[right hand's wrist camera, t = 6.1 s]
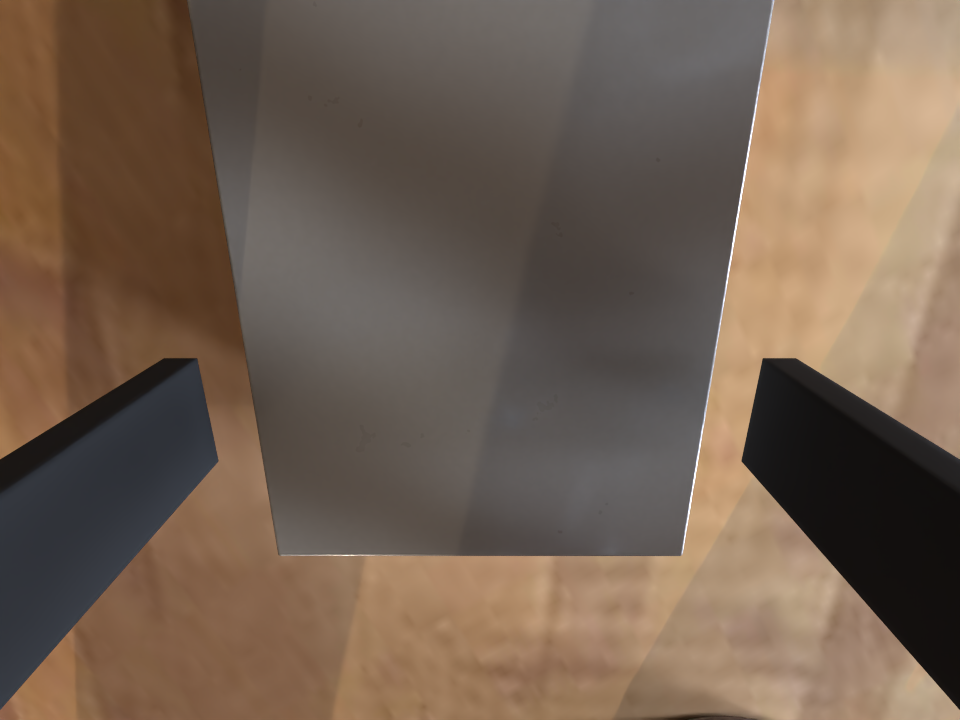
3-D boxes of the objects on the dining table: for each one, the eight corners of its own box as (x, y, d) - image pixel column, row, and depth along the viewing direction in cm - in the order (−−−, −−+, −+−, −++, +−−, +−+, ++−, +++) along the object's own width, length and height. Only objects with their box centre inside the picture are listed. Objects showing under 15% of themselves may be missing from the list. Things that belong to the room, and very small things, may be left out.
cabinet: (295, -231, 16) (62, -738, 7) (665, -231, 16) (899, -739, 7) (354, 410, 23) (277, 557, 14) (606, 410, 23) (683, 557, 14)
